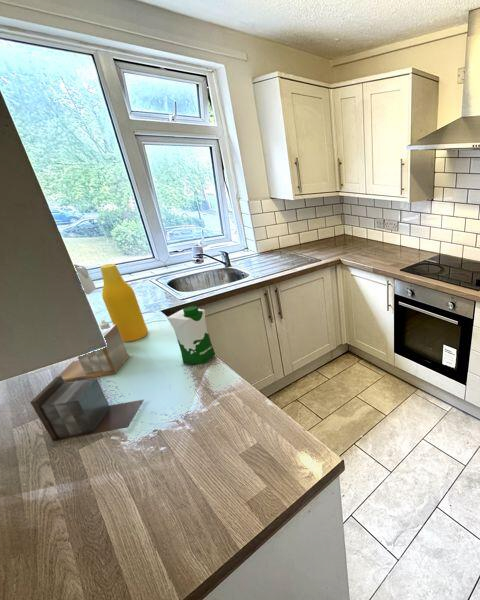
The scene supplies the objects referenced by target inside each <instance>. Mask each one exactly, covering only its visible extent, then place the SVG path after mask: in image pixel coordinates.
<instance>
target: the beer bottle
mask: <svg viewBox="0 0 480 600" xmlns="http://www.w3.org/2000/svg"><path fill="white" fill-rule="evenodd" d="M99 269H100V273H101V276H102V280H103V286H102V291H101V295H102V300H103V303H104V305H105V307H106V310H107V313H108V315H109V318H110V320H111V322H112V325H115V324H116V325H117V327H118V330H119V332H120V335H121V337H122V340H123V342H125V343H126V342H127V343H128V342H134V341H138V340H140V339H142V338H145V337H146V336H147V335H148V332H149V329H148V326H147V325H146V322H145V319H144V315H143V313H142V310H141V308H140V305H139V302H138V299H137V297H136V294H135V291H134V289H133V288H132V287H131V286H130V284H128V282H127V281H125V279H123V276H122V275H121V273H120V271H119V269H118V266H117V265H116V264H115V263H108V264H102V265H101V266H99Z"/></svg>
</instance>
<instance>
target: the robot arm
mask: <svg viewBox="0 0 480 600" xmlns="http://www.w3.org/2000/svg"><path fill="white" fill-rule="evenodd" d="M73 264H74V266H75V268H76V270H77V273H78V276H79V278H80V281H81V283H82V286H83V288H84V290H85V293H86V295H90V294H92V293H93V292H94V291H95V290H96V285H95V283H94V281H93V279H92V277H91V276H90V274H89V271H88V268H86V266H83V265H80V264H78V263H73Z"/></svg>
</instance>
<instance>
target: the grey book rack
mask: <svg viewBox="0 0 480 600" xmlns="http://www.w3.org/2000/svg"><path fill="white" fill-rule="evenodd" d="M144 401H145V399H138V400H133V401H128V402H122V403H117V404H109V402H108V400H107V398H106V396H105V393H104V391H103V389H102V386H101V384H100V382H99V380H98V377H94V378H87V379H81V380H75V381H68V382H64V381H63V379H62V377H61V376H59V375H58V376H55V377H54V379H52V380H51V381H50V382H49V383H48V384H47V385H46V386H45V387H44V388H43V389H42V390H41V391H40V392H39V393H38V394H37V395H36V396H35V397H34V398H32V400H31V401H30V404H31V406H32V408H33V409H34V411H35V413H36V415H37V417H38V418H39V420H40V422H41V423H42V425H43V426H44V429H45V430H46V432H47V433H48V435H49V437H50V439H51V443H53V442H58V441H63V440H69V439H74V438H80V437H84V436H89V435H97V434H101V433H105V432H111V431H115V430H122V429H126V428H129V427H130V425H131V423H132V422H133V420H134V419H135V416H136V414H137V413H138V412H139V409H140V408H141V406H142V404H143V403H144Z"/></svg>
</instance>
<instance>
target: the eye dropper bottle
mask: <svg viewBox="0 0 480 600" xmlns="http://www.w3.org/2000/svg"><path fill="white" fill-rule="evenodd" d="M100 322H101V323H100V324H99V327H100V330H101V329H109V328H110V327H111V326H110V325H111V324H110V323H109V321H105V319H102V320H101V321H100Z"/></svg>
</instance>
